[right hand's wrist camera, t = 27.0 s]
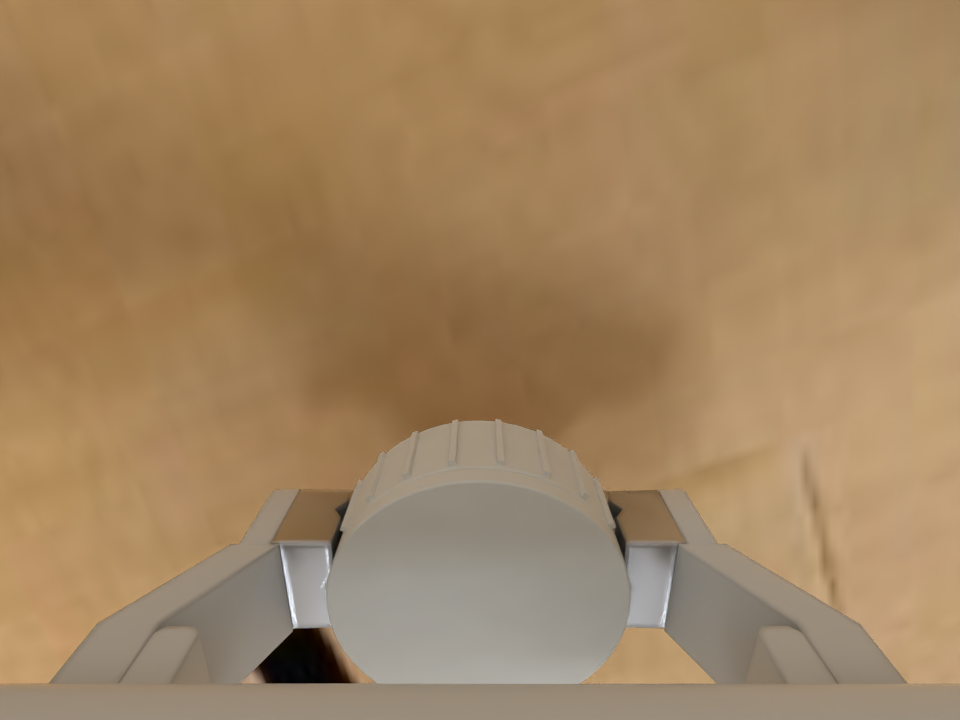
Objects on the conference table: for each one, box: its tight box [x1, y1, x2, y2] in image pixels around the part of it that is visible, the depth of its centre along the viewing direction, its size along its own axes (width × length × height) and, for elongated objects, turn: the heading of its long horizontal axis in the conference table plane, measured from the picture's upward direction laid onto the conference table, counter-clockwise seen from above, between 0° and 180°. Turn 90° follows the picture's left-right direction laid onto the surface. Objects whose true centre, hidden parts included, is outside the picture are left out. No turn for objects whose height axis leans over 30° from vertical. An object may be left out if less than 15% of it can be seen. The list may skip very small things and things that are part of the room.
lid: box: [326, 419, 631, 684], centre depth 9 cm, size 5×5×2 cm
